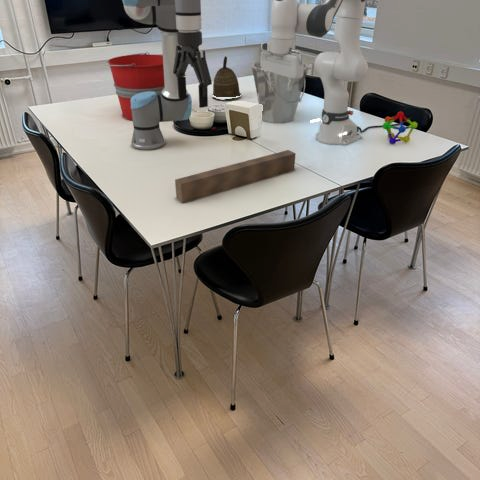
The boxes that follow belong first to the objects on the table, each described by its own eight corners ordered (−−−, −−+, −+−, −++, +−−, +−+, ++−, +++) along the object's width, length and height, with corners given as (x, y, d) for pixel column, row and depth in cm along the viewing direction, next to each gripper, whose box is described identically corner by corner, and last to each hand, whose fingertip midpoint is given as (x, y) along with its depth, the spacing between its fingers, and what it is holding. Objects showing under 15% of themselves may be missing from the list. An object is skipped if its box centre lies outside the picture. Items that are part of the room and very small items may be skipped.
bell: (227, 105, 294) (202, 96, 282) (238, 66, 289) (213, 55, 277) (243, 108, 280) (217, 98, 268) (255, 66, 275) (229, 55, 263)
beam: (182, 203, 157) (181, 184, 153) (176, 198, 160) (174, 179, 156) (294, 170, 182) (295, 153, 178) (287, 166, 186) (288, 149, 182)
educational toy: (377, 146, 209) (379, 114, 202) (384, 138, 219) (386, 107, 211) (411, 149, 202) (415, 116, 195) (417, 141, 212) (420, 109, 204)
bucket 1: (122, 105, 263) (114, 51, 248) (180, 106, 263) (177, 52, 247) (105, 123, 234) (95, 63, 218) (171, 124, 233) (166, 64, 217)
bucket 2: (277, 130, 226) (280, 73, 211) (239, 117, 245) (239, 64, 230) (315, 118, 243) (320, 65, 228) (277, 107, 261) (279, 57, 247)
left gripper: (222, 34, 126) (223, 109, 138) (180, 25, 143) (184, 92, 155) (199, 36, 123) (202, 113, 134) (159, 27, 140) (164, 95, 151)
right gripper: (309, 49, 149) (306, 91, 156) (271, 42, 163) (270, 81, 171) (295, 51, 146) (292, 94, 153) (257, 43, 160) (257, 83, 168)
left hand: (192, 102), depth 144 cm, fingers open, 13 cm apart
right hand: (280, 87), depth 162 cm, fingers open, 8 cm apart
